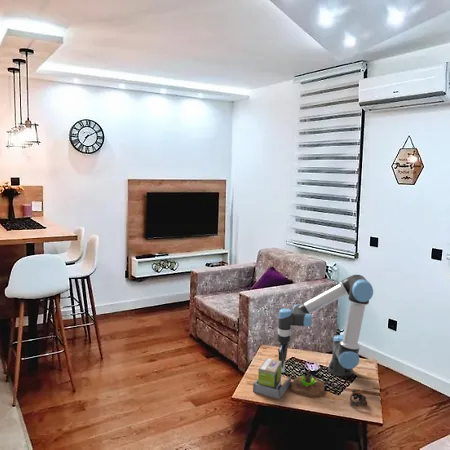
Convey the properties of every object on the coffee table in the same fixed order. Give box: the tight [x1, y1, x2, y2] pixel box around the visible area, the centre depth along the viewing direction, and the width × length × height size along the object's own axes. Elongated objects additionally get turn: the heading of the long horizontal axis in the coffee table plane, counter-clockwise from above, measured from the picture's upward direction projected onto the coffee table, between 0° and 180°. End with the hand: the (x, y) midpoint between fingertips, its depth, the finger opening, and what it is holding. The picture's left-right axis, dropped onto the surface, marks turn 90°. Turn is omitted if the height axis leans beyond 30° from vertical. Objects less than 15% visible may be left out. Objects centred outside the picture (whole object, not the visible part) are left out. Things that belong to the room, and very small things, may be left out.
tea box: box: [257, 357, 282, 390], centre depth 265 cm, size 15×10×15 cm
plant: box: [289, 368, 325, 399], centre depth 268 cm, size 20×20×11 cm
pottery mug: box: [349, 389, 368, 407], centre depth 253 cm, size 12×10×8 cm
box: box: [252, 375, 292, 400], centre depth 266 cm, size 16×19×5 cm
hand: (281, 371), depth 279 cm, fingers closed
